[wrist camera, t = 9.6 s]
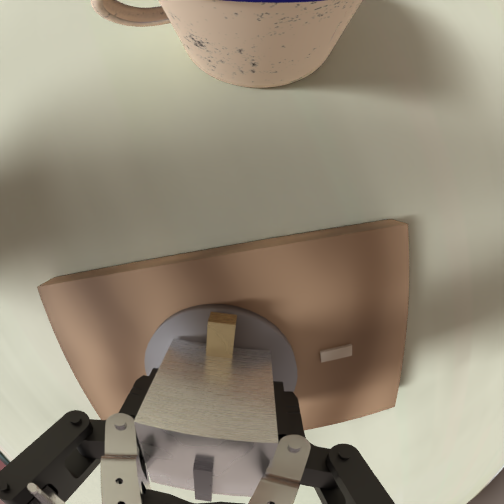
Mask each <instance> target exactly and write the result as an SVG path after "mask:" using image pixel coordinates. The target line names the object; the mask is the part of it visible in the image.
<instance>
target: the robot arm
mask: <svg viewBox="0 0 504 504" xmlns="http://www.w3.org/2000/svg"><path fill="white" fill-rule="evenodd" d="M158 369H159V368H153V369H152V371H151V373H150V375H149V376H145V375H143V376H141V377H140V378H139V379H137V380H136V381H135V383H134V385H133V387H132V389H131V391H130V393H129V394H128V396H127V398H126V400H125V402H124V404H123V405H122V407H121V409H120V411H119V413H116V414H113V415H111V416H109V417H108V418H107V420H92V419H89V417H88V415H87V414H86V413H84V412H82V411H78V410H74V411H70V412H68V413H66V414H65V415H64V416H63V417H62V418H61V419H59V420H58V421H57V422H56V423H55V424H54V425H53V426H51V427H50V428H49V429H48V430H47V431H46V432H45V433H43V434H42V435H41V436H40V437H39V438H38V439H36V440H35V441H34V442H33V443H32V444H31V445H30V446H28V447H27V448H26V449H25V450H24V451H23V452H22V453H20V454H19V455H18V456H17V457H16V458H15V459H14V460H12V461H11V462H10V463H9V464H8V465H7V466H6V467H4V468H3V469H2V470H1V471H0V499H1V500H2V501H3V502H4V503H5V504H65V502H66V501H67V500H68V498H69V497H70V496H71V495H72V494H73V493H74V492H75V491H76V490H77V488H78V487H79V486H80V485H81V484H82V483H83V482H84V481H85V479H86V478H87V477H88V476H89V475H90V474H91V473H92V472H93V470H94V469H95V468H96V467H97V466H98V465H99V464H100V462H101V495H102V504H195V503H191V502H188V501H185V500H183V499H180V498H178V497H175V496H173V495H171V494H167V493H162V492H158V491H154V490H151V487H150V483H149V477H148V471H147V467H146V463H145V460H144V457H143V454H142V451H141V447H140V444H139V440H138V437H137V433H136V429H135V425H134V420H135V417H136V415H137V413H138V411H139V409H140V407H141V404H142V402H143V400H144V398H145V396H146V394H147V392H148V390H149V388H150V385H151V383H152V381H153V379H154V377H155V375H156V373H157V371H158ZM273 386H274V397H275V409H276V420H277V432H278V446H277V449H276V452H275V455H274V457H272V459H271V461H270V463H269V466H268V468H267V470H266V472H265V474H264V475H263V476H262V478H261V480H260V482H259V484H258V486H257V488H256V490H255V492H254V494H253V496H252V498H251V499H250V501H249V503H248V504H293V503H294V500H295V497H296V495H297V492H298V489H299V486H300V484H301V485H306V486H312V487H314V488H315V490H316V492H317V494H318V496H319V498H320V500H321V502H322V504H395V503H394V502H393V500H392V499H391V497H390V496H389V495H388V493H387V492H386V490H385V489H384V487H383V486H382V485H381V483H380V482H379V480H378V479H377V477H376V476H375V475H374V473H373V472H372V470H371V469H370V467H369V466H368V464H367V463H366V462H365V460H364V459H363V457H362V456H361V454H360V453H359V451H358V450H357V449H356V448H355V447H353V446H352V445H349V444H338V445H335V446H334V447H332V448H331V449H327V448H321V447H317V446H314V445H313V444H311V443H310V442H309V441H308V440H307V439H306V437H305V434H304V429H303V423H302V418H301V414H300V407H299V402H298V398H297V397H296V395H295V394H294V393H293V392H292V391H284V387H283V382H280V381H273ZM198 504H243V503H228V502H213V503H198Z"/></svg>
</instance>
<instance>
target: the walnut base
mask: <svg viewBox="0 0 504 504" xmlns="http://www.w3.org/2000/svg"><path fill="white" fill-rule="evenodd" d="M37 288H38V291H39V294H40V297H41V300H42V303H43V305H44V308H45V311H46V313H47V316H48V319H49V321H50V324H51V326H52V328H53V331H54V333H55V335H56V338H57V340H58V342H59V344H60V347H61V349H62V351H63V353H64V355H65V357H66V359H67V361H68V363H69V365H70V367H71V369H72V371H73V373H74V375H75V377H76V379H77V380H78V382H79V384H80V386H81V388H82V389H83V391H84V393H85V394H86V396H87V398H88V399H89V401H90V403H91V404H92V406H93V408H94V409H95V411H96V412H97V414H98V415H99V417H100V418H101V420H107V418H108V417H109V416H111V415H113V414H116V413H119V411H120V409H121V407H122V405H123V404H124V402H125V400H126V398H127V396H128V394H129V393H130V391H131V389H132V387H133V385H134V383H135V381H136V380H137V379H139V378H140V377H141V376H143V375H145V376H149V375H150V373H151V371H152V369H153V368H159V367H160V365H161V363H162V361H163V359H164V357H165V354H166V352H167V350H168V348H169V346H170V344H171V342H172V340H173V338H174V339H180V340H186V341H192V342H199V343H206V344H207V326H208V319H209V316H210V313H211V312H218V313H226V314H234V315H237V319H236V328H235V338H234V347H237V348H246V349H256V350H268V351H270V353H271V364H272V375H273V381H280V382H283V387H284V391H292V392H293V393H294V394H295V395H296V397H297V398H298V402H299V407H300V414H301V418H302V423H303V429H304V430H308V429H313V428H318V427H323V426H328V425H332V424H336V423H341V422H345V421H348V420H352V419H356V418H360V417H363V416H367V415H370V414H373V413H377V412H380V411H383V410H386V409H389V408H392V407H395V403H396V398H397V393H398V388H399V382H400V376H401V370H402V363H403V356H404V348H405V339H406V329H407V316H408V300H409V234H408V224H407V223H403V222H400V221H396V220H393V219H387V220H381V221H375V222H368V223H362V224H356V225H349V226H343V227H337V228H331V229H325V230H319V231H312V232H306V233H300V234H294V235H288V236H282V237H276V238H270V239H264V240H259V241H253V242H247V243H241V244H235V245H229V246H224V247H218V248H212V249H206V250H201V251H195V252H189V253H184V254H178V255H172V256H167V257H161V258H156V259H150V260H145V261H139V262H134V263H128V264H123V265H118V266H112V267H107V268H101V269H96V270H91V271H85V272H80V273H75V274H70V275H64V276H59V277H54V278H52V279H50V280H49V281H47V282H45V283H43V284H41V285H40V286H38V287H37Z"/></svg>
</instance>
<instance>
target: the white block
mask: <svg viewBox="0 0 504 504" xmlns="http://www.w3.org/2000/svg"><path fill="white" fill-rule="evenodd" d="M236 319H237V315H234V314H226V313H218V312H211V313H210V316H209V319H208V326H207V344H206V343H199V342H192V341H186V340H180V339H174V338H173V340H172V342H171V344H170V346H169V348H168V350H167V352H166V354H165V357H164V359H163V361H162V363H161V365H160V367H159V369H158V371H157V373H156V375H155V377H154V379H153V381H152V383H151V385H150V388H149V390H148V392H147V394H146V396H145V398H144V400H143V402H142V404H141V407H140V409H139V411H138V413H137V415H136V417H135V420H134V425H135V429H136V433H137V437H138V440H139V444H140V447H141V451H142V454H143V457H144V460H145V463H146V467H147V470H148V472H149V475H150V478H151V481H152V482H155V483H159V484H163V485H168V486H172V487H177V488H182V489H188V490H193V491H195V499H198V500H204V501H211V500H212V493H214V494H223V495H234V496H248V497H252V496H253V494H254V492H255V490H256V488H257V486H258V484H259V482H260V480H261V478H262V476H263V475H264V474H265V472H266V470H267V468H268V466H269V463H270V461H271V459H272V457H274V455H275V452H276V449H277V446H278V432H277V420H276V409H275V397H274V386H273V375H272V364H271V353H270V351H268V350H256V349H246V348H237V347H234V338H235V328H236Z"/></svg>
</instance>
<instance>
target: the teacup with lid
mask: <svg viewBox="0 0 504 504" xmlns="http://www.w3.org/2000/svg"><path fill="white" fill-rule="evenodd" d="M158 1H159V2H160V4H161V6H160V7H152V8H139V7H133V6H129V5H125V4H123V3H121V2H119V1H117V0H91V4H92V7H93V9H94V10H95V11H96V12H97V13H98V14H99V15H100V16H102V17H103V18H105V19H107V20H109V21H112V22H115V23H118V24H122V25H127V26H136V27H145V26H155V25H162V24H168V23H171V24H172V26H173V28H174V29H175V31H176V33H177V35H178V37H179V39H180V40H181V42H182V44H183V46H184V48H185V50H186V52H187V53H188V55H189V57H190V58H191V59H192V61H193V62H194V63H195V64H196V65H197V66H198V67H199V68H200V69H202V70H203V71H204V72H206V73H207V74H209V75H210V76H212V77H214V78H216V79H218V80H221V81H223V82H226V83H230V84H233V85H238V86H244V87H253V88H265V87H276V86H281V85H286V84H290V83H293V82H296V81H298V80H301V79H303V78H305V77H307V76H308V75H310V74H311V73H313V72H314V71H315V70H317V69H318V68H319V67H320V66H321V65H322V64H323V63H324V62H325V60H326V59H327V57H328V56H329V54H330V52H331V51H332V49H333V47H334V46H335V44H336V43H337V41H338V39H339V38H340V36H341V34H342V33H343V31H344V30H345V28H346V26H347V25H348V23H349V22H350V20H351V18H352V17H353V15H354V14H355V12H356V10H357V9H358V7H359V6H360V4H361V3H362V1H363V0H158Z"/></svg>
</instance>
